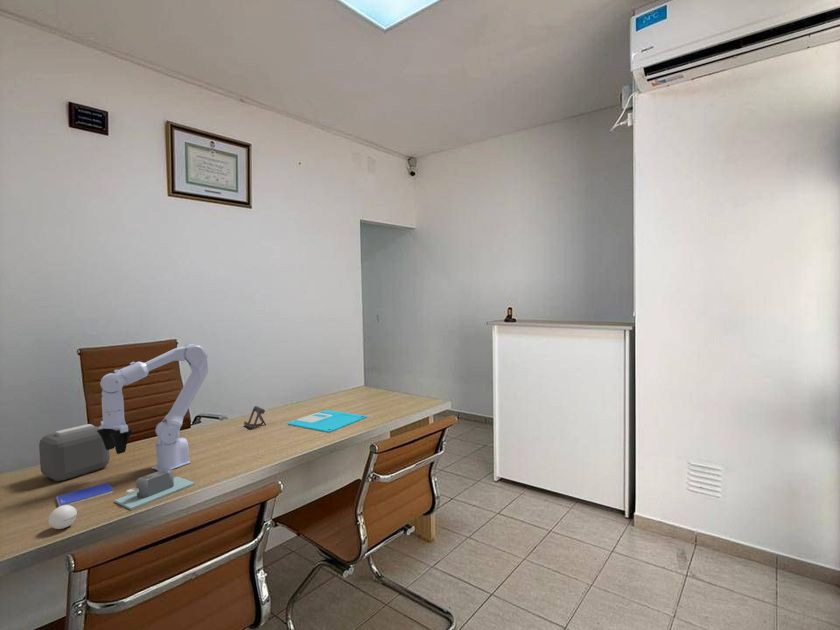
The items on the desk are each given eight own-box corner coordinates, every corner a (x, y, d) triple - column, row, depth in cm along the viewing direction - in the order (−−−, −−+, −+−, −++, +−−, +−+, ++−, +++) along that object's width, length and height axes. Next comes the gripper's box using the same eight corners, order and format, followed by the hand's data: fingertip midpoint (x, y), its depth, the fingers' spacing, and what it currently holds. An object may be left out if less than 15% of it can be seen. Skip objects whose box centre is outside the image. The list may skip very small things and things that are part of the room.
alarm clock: (98, 461, 152) (96, 420, 152) (113, 467, 146) (110, 424, 146) (41, 478, 138) (38, 432, 138) (54, 485, 132) (51, 437, 132)
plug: (169, 483, 130) (168, 467, 130) (176, 485, 128) (175, 470, 127) (125, 500, 119) (124, 483, 119) (131, 503, 117) (130, 485, 117)
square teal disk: (329, 433, 178) (329, 431, 178) (285, 425, 193) (285, 423, 192) (367, 418, 200) (367, 416, 200) (325, 411, 215) (325, 409, 215)
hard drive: (59, 504, 117) (112, 489, 126) (56, 495, 123) (107, 481, 131) (59, 509, 117) (113, 494, 126) (56, 500, 123) (108, 486, 132)
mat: (177, 478, 135) (177, 476, 135) (195, 484, 130) (194, 482, 130) (114, 502, 119) (114, 500, 119) (131, 510, 114) (131, 508, 114)
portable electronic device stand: (243, 426, 192) (243, 408, 192) (260, 422, 197) (260, 405, 197) (250, 430, 186) (249, 411, 185) (267, 426, 191) (267, 408, 191)
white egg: (56, 535, 102) (54, 513, 102) (44, 530, 105) (43, 509, 105) (91, 520, 109) (90, 499, 109) (79, 516, 112) (78, 496, 112)
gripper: (89, 410, 135) (91, 451, 136) (109, 415, 128) (111, 458, 128) (113, 405, 141) (115, 444, 142) (134, 410, 134) (136, 451, 134)
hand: (115, 451), depth 135 cm, fingers open, 7 cm apart
